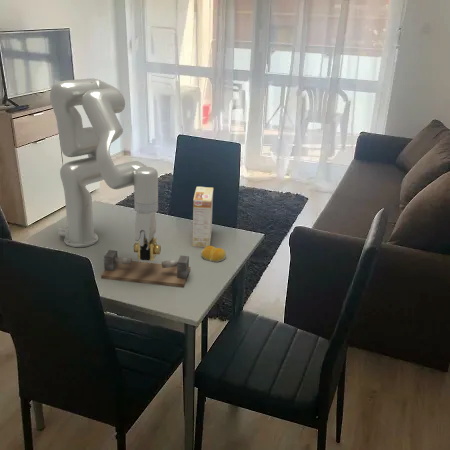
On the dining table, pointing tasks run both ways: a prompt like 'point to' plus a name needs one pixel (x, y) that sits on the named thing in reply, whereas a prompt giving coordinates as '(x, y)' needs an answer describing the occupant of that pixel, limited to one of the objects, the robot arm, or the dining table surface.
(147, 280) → the base
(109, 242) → the dining table surface
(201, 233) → the coffeecake box
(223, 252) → the bread roll
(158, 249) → the brass coupler
